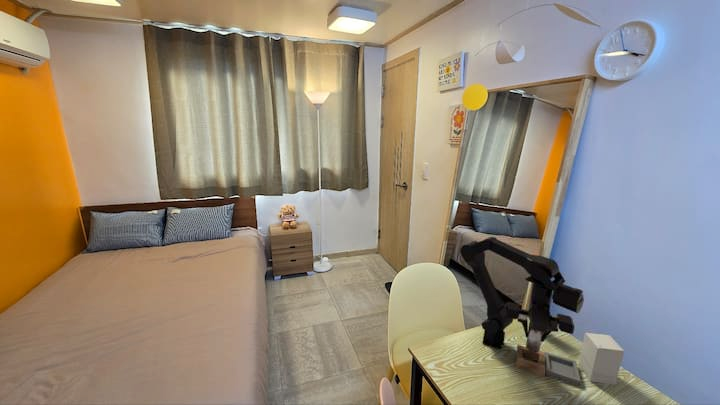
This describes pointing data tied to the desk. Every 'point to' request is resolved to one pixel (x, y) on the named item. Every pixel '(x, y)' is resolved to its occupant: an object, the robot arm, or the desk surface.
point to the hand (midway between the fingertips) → (534, 338)
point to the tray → (562, 368)
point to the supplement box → (600, 358)
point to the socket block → (529, 365)
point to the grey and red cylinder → (533, 340)
